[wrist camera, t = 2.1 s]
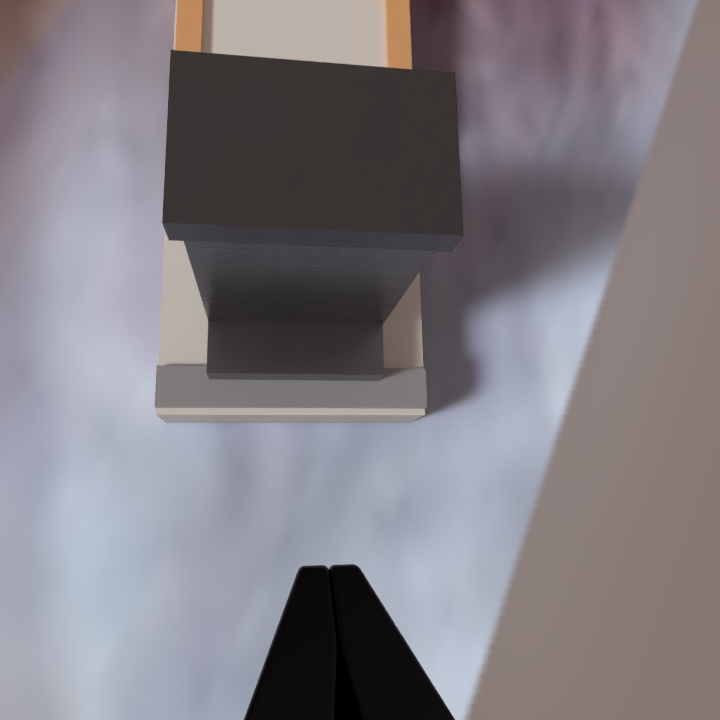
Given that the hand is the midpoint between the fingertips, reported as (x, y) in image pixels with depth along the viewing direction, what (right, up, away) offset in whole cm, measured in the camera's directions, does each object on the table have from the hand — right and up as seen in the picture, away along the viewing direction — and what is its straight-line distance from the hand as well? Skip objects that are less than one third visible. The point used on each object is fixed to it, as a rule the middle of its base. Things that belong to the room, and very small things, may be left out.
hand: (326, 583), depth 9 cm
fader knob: (-2, +6, +11) cm, 12 cm away
